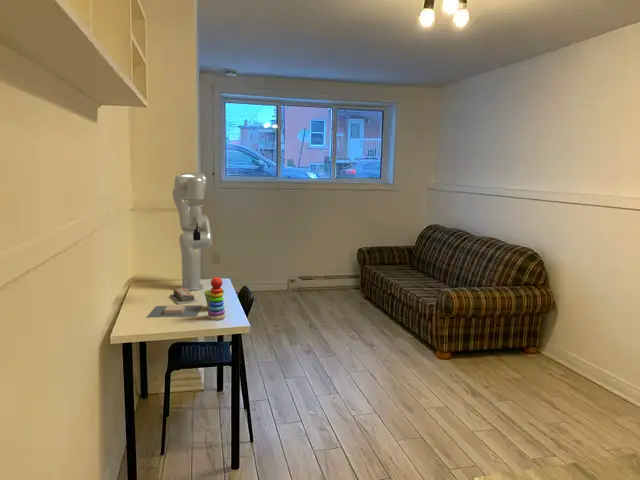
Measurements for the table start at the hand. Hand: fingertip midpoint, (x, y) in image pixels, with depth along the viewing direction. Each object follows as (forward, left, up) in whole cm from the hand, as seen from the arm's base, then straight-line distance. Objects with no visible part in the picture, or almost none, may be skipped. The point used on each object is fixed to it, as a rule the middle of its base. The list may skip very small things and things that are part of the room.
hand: (196, 240), depth 236 cm
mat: (+17, -8, -31) cm, 36 cm away
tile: (+14, -8, -30) cm, 34 cm away
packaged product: (-4, -8, -32) cm, 33 cm away
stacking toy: (+28, +12, -31) cm, 44 cm away
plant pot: (+14, +10, -31) cm, 36 cm away
